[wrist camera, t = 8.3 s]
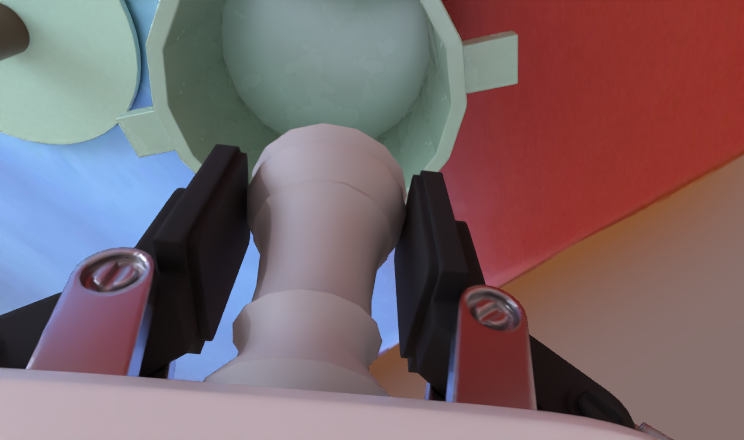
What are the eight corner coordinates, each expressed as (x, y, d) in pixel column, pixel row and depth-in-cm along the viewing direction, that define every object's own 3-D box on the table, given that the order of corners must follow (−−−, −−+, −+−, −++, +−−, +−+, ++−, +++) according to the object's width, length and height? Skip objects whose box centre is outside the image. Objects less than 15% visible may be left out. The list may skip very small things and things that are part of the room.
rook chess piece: (224, 188, 12) (63, 487, 6) (322, 80, 10) (242, 347, 4) (336, 266, 14) (308, 558, 8) (437, 186, 12) (509, 484, 6)
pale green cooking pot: (129, -40, 26) (20, -20, 18) (472, -128, 23) (524, -151, 15) (229, 174, 35) (187, 253, 27) (483, 127, 32) (521, 198, 24)
